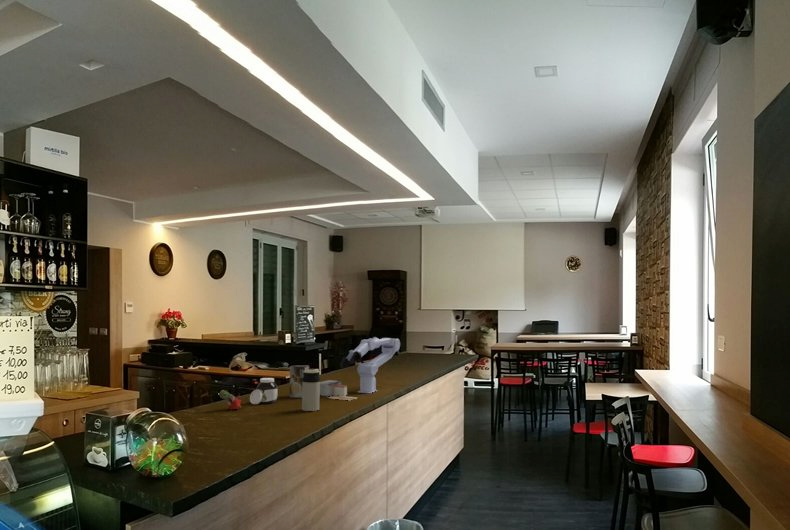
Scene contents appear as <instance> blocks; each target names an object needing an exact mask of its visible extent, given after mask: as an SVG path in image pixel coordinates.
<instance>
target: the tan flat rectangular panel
mask: <svg viewBox="0 0 790 530" xmlns="http://www.w3.org/2000/svg"><path fill="white" fill-rule="evenodd" d="M327 398H329V400H335V399H339V400H338V401H345V400H348V402H352V401H355V400H357V398H358V397H354V396H348V395H347V396H337V395H333V396H330V397H328V396H326V399H327ZM354 399H355V400H354ZM351 400H352V401H351Z"/></svg>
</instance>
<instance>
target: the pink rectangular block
mask: <svg viewBox="0 0 790 530" xmlns="http://www.w3.org/2000/svg"><path fill="white" fill-rule="evenodd" d="M334 395H339V396H346V395H347V396H348V385H343V384H341V385H335V384H334ZM334 395H333V396H334Z"/></svg>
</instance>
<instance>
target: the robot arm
mask: <svg viewBox="0 0 790 530" xmlns="http://www.w3.org/2000/svg"><path fill="white" fill-rule="evenodd" d="M380 347H381V352H382V353H380V354H379V355H377V356H376V357H374V358H373V359H371V360H370V361H367V362H366V361H365V362H363V363H362V362H361V361H362V360H363V358H362V357H363V356H364V355H366V354H367V353H368V351H374V350H375V349H379V348H380ZM400 347H401V341H400V339H399V338H392V337H382V338H380V339H379V338H378V337H376V336H373V337H372V338H368V339H361V341H360V343H359V345H358V346H356V348H354V349H350V350H349V351H348V355H347V356H342V358H341V361H340V363H339V368H340V369H344V368H346V367H348V366H351V365H353V364H356V363H357V362H361V363H359V364H358V365H357V369H356V371H357V373H358V375H359V377H360V379H359V380H360V381H359V384H360V385H359V388H360V389H359V390H358V391H356V392H357V393H360V394H361V393H362V394H372V392H373V393H376V392H378V389H377V379H376V377H375V376H376V373H378V371H379V367H382V365H383V364H385V363H386V362H388V361H389V360H390V359H392V358H393V357H394V355H395V353H396V352H398V351H399V350H400ZM375 391H376V392H375Z"/></svg>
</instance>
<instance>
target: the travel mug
mask: <svg viewBox="0 0 790 530" xmlns="http://www.w3.org/2000/svg"><path fill="white" fill-rule="evenodd" d="M303 372H304V377H303V386H302V398H301V410H302V411H304V412H307V411H313V412H317V410H318V411H319V410H320V397H321V396H320V382H321V378H320V376H319V375H320V372H321V371H320V370H319V369H310V370H305V371H303Z"/></svg>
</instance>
